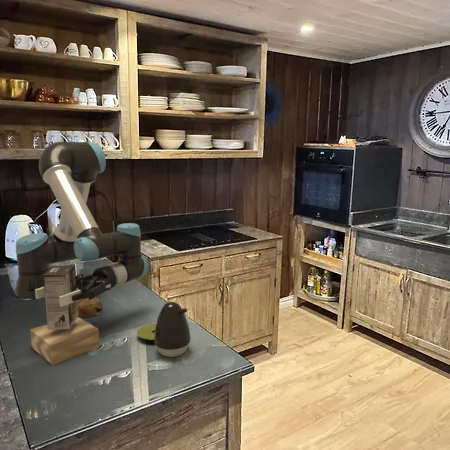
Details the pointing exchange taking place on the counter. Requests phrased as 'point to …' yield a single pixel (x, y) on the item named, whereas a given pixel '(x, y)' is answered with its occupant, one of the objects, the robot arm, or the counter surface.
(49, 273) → the coffee box
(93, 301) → the bread roll
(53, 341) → the oak block
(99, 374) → the counter surface
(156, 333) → the pump dispenser
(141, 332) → the green textured disc
